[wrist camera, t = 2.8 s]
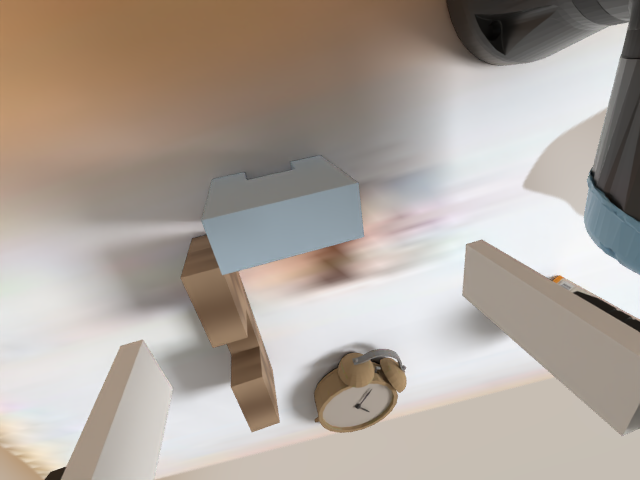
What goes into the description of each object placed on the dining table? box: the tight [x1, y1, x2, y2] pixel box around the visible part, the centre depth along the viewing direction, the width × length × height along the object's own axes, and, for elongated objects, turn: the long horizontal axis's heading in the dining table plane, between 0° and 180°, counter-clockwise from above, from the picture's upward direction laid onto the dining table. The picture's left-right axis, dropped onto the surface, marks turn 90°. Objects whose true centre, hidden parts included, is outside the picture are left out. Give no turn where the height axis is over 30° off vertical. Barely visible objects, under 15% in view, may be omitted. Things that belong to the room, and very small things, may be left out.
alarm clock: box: [314, 349, 406, 433], centre depth 42 cm, size 11×5×15 cm
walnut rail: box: [181, 235, 280, 432], centre depth 30 cm, size 20×3×7 cm, turn 10°
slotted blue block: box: [201, 155, 364, 275], centre depth 24 cm, size 10×4×10 cm, turn 100°
